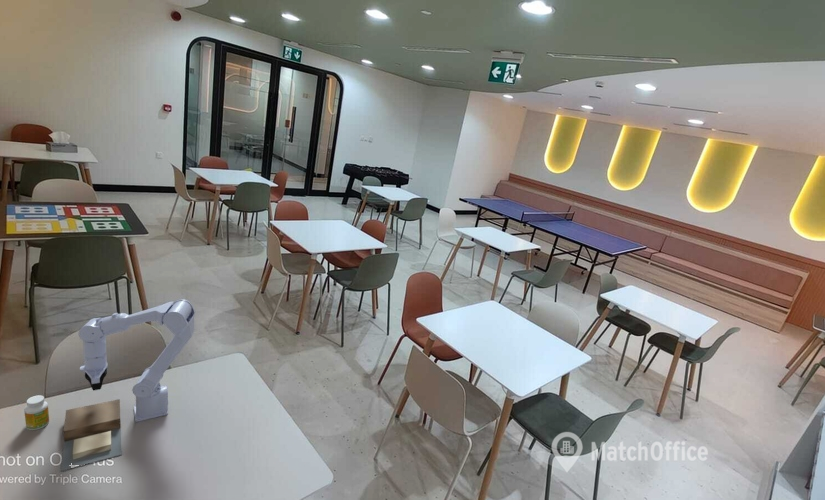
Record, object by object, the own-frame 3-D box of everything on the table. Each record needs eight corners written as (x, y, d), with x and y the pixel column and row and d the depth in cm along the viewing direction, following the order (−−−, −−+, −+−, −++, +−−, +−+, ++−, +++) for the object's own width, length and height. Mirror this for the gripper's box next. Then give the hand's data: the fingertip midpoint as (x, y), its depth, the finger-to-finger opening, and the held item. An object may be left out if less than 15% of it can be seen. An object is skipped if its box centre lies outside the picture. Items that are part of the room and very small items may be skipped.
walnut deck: (119, 408, 137) (119, 399, 136) (120, 428, 130) (120, 418, 129) (66, 420, 129) (66, 410, 127) (64, 441, 121) (63, 431, 120)
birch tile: (111, 444, 121) (111, 449, 122) (110, 430, 125) (111, 435, 126) (72, 454, 116) (73, 459, 116) (73, 439, 120) (74, 444, 121)
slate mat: (120, 428, 130) (120, 428, 129) (121, 455, 121) (121, 454, 121) (64, 442, 121) (64, 441, 121) (60, 471, 112) (60, 470, 112)
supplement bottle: (35, 432, 122) (32, 407, 119) (21, 427, 123) (18, 402, 120) (54, 421, 127) (51, 396, 125) (40, 416, 128) (37, 391, 125)
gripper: (80, 344, 130) (82, 378, 134) (77, 369, 120) (80, 405, 124) (107, 340, 135) (108, 374, 139) (107, 364, 124) (108, 399, 128)
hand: (96, 388), depth 132 cm, fingers closed
